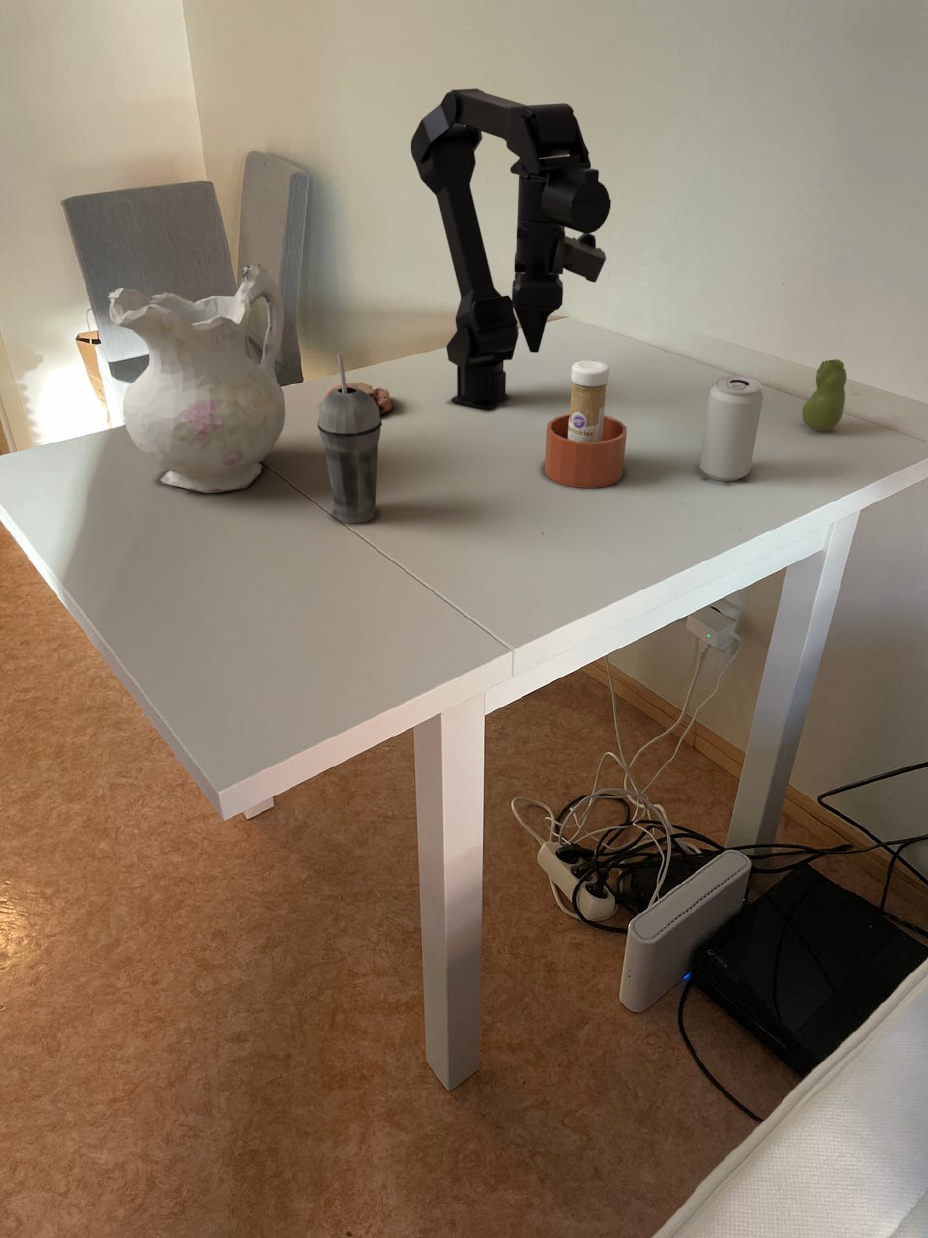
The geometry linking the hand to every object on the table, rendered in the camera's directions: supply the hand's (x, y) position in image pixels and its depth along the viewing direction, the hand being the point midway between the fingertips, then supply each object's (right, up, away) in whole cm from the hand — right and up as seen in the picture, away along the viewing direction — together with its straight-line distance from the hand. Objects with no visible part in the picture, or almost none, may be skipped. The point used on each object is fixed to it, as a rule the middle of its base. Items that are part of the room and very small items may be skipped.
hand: (534, 340), depth 129 cm
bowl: (+6, -18, -4) cm, 19 cm away
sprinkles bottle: (+6, -18, -4) cm, 19 cm away
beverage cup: (-22, -25, -14) cm, 36 cm away
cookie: (-25, -6, +14) cm, 30 cm away
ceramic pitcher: (-41, -18, -4) cm, 45 cm away
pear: (+41, -11, +8) cm, 43 cm away
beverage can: (+24, -19, -4) cm, 31 cm away
